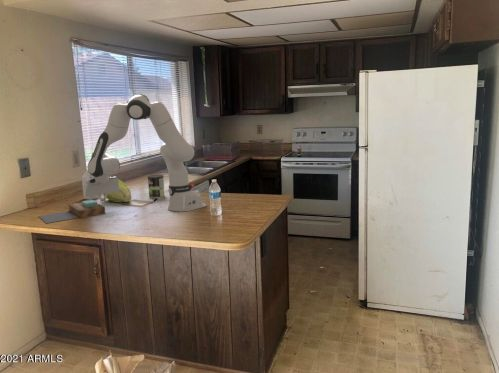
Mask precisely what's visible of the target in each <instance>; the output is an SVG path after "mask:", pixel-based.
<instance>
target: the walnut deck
mask: <svg viewBox="0 0 499 373" xmlns="http://www.w3.org/2000/svg"><path fill="white" fill-rule="evenodd" d="M97 205H98V206H92V207H85V206H84V205H82V202H76V203H69V204H68V211H69V212H70V213H72V214H73V215H74V216H76V217H77V218H79V219H83V218H90V217H95V216H100V215H101V216H102V215H106V207H105V206H104V205H101V204H100V203H98V202H97Z"/></svg>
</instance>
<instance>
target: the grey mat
mask: <svg viewBox="0 0 499 373" xmlns="http://www.w3.org/2000/svg"><path fill="white" fill-rule="evenodd" d="M38 217H39V218H40V219H41V220H42V221H43V222H44V223H45V224H53V223H58V222H63V221H69V220H77V219H78V216H76V215H75V214H73V213H72V212H70V211H69V210H67V211H60V212H54V213H50V214H48V213H47V214H42V215H38Z"/></svg>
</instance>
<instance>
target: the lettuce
mask: <svg viewBox="0 0 499 373" xmlns="http://www.w3.org/2000/svg"><path fill="white" fill-rule="evenodd" d="M118 179H119V178H118ZM119 188H120V190H119V192H113V193H107V197H106V200H107V199H108V200H109V201H110V202H113V203H128V202H130V201H131V200H132V192H131V189H130V188H129V186H128V185H127V184H126V183H125V182H124V181H123V180H121V179H119ZM102 195H103V196H105V195H104V194H102Z"/></svg>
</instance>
